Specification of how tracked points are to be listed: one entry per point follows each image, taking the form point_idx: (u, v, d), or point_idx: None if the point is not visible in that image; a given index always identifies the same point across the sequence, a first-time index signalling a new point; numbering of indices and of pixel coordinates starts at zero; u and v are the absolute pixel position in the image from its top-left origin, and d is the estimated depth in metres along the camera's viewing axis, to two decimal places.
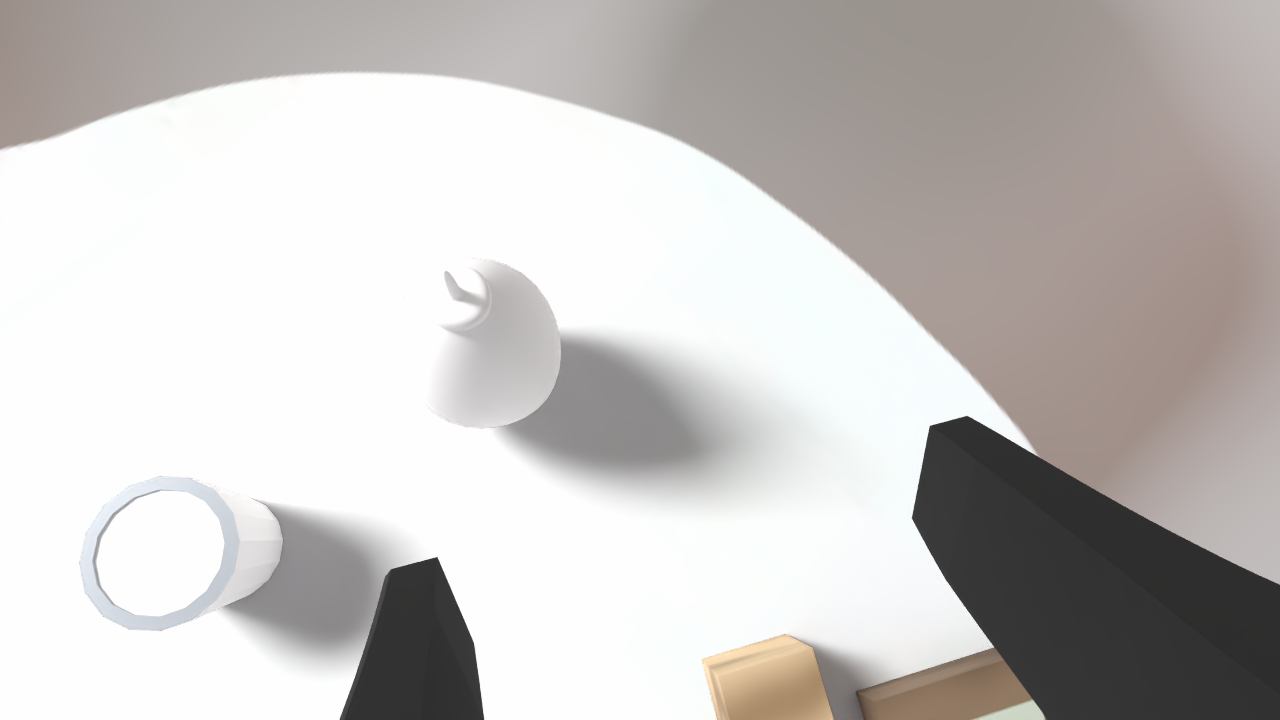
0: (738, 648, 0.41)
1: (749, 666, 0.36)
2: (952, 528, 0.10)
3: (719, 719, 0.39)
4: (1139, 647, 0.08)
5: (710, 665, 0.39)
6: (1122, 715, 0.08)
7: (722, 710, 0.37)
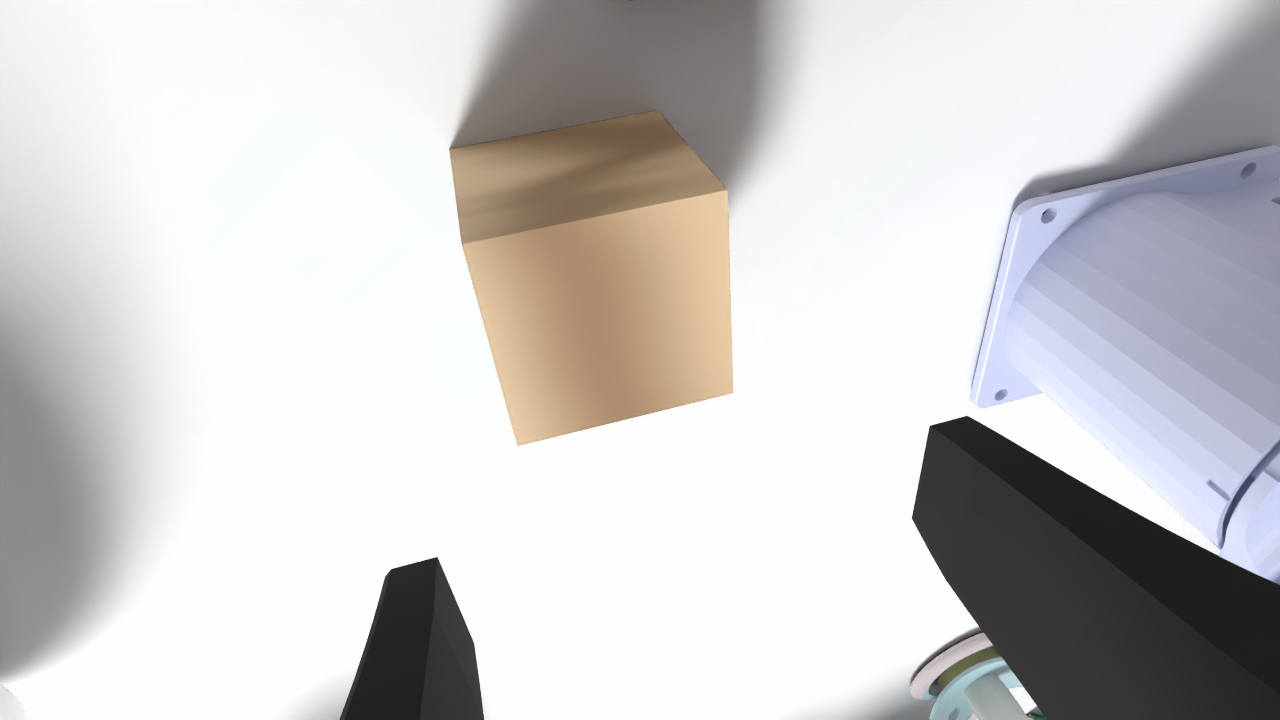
0: None
1: (501, 383, 0.15)
2: (952, 528, 0.10)
3: None
4: (1139, 647, 0.08)
5: None
6: (1122, 715, 0.08)
7: None
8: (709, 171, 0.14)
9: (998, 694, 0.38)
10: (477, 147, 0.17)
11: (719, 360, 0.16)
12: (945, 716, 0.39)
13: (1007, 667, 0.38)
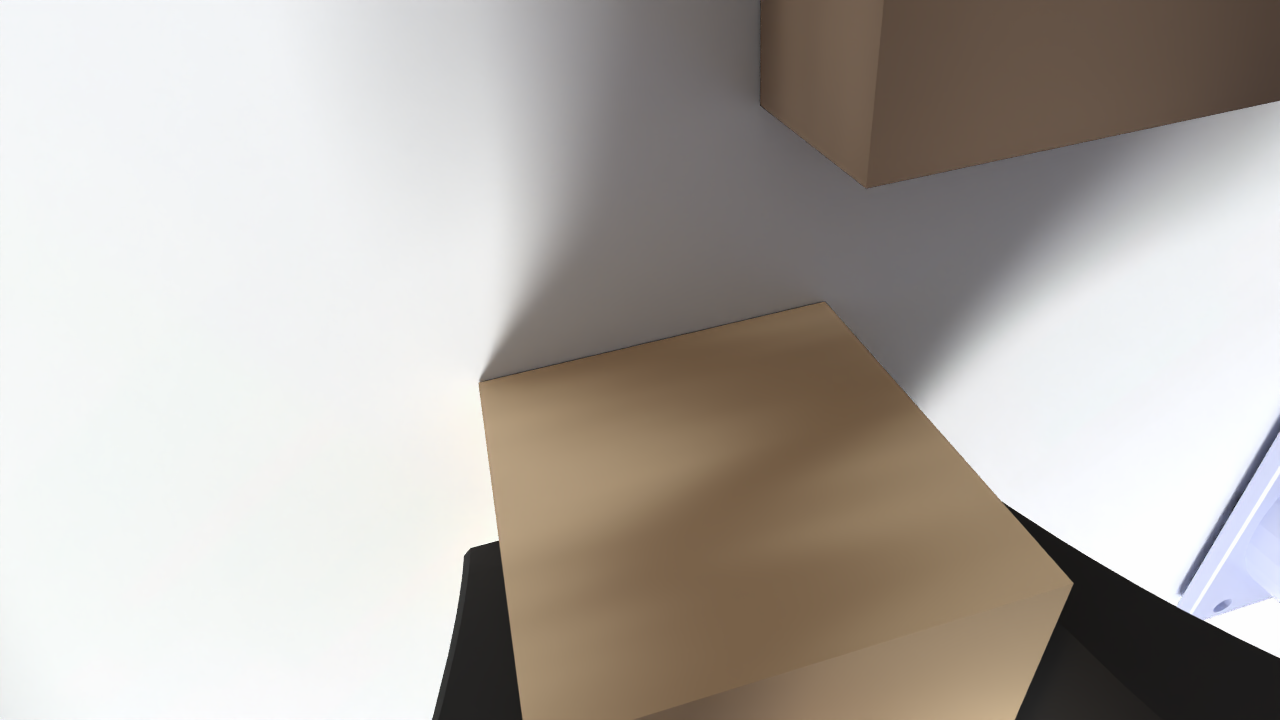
0: None
1: None
2: None
3: None
4: (1052, 676, 0.08)
5: None
6: None
7: None
8: (1002, 507, 0.07)
9: None
10: (529, 387, 0.10)
11: None
12: None
13: None
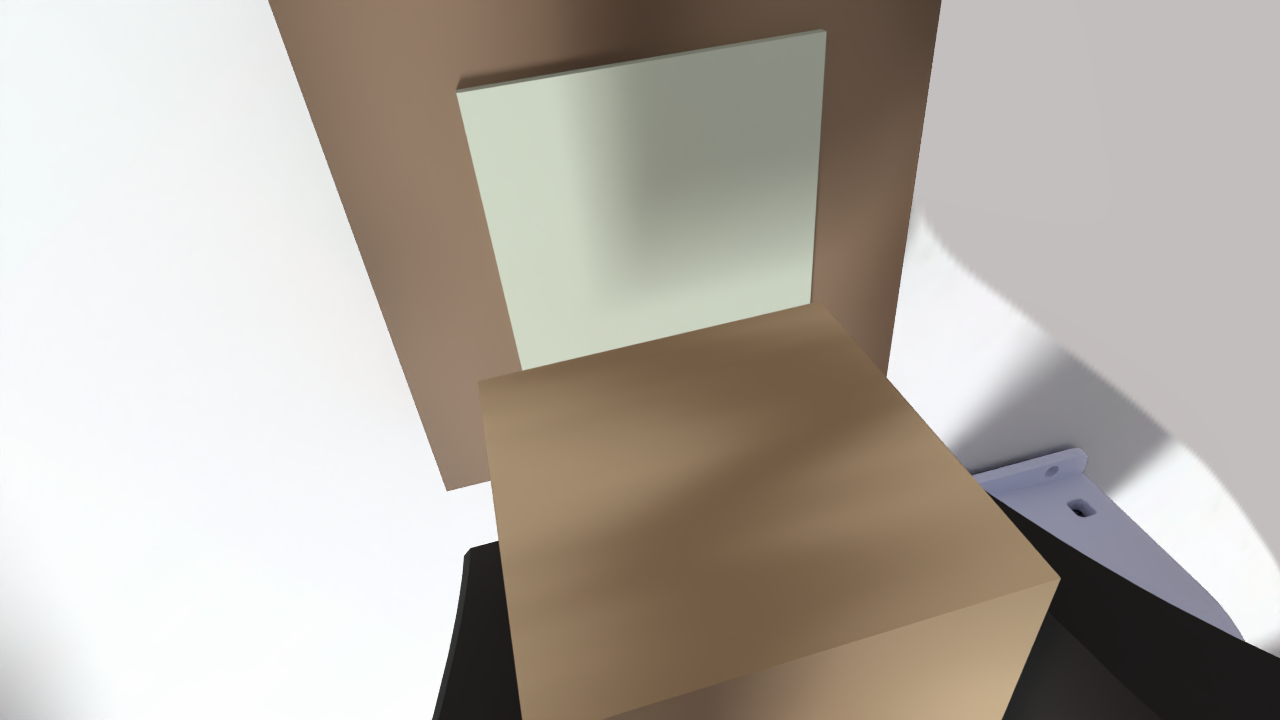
0: None
1: None
2: None
3: None
4: (1052, 676, 0.08)
5: None
6: None
7: None
8: (992, 504, 0.07)
9: None
10: (528, 385, 0.10)
11: None
12: None
13: None
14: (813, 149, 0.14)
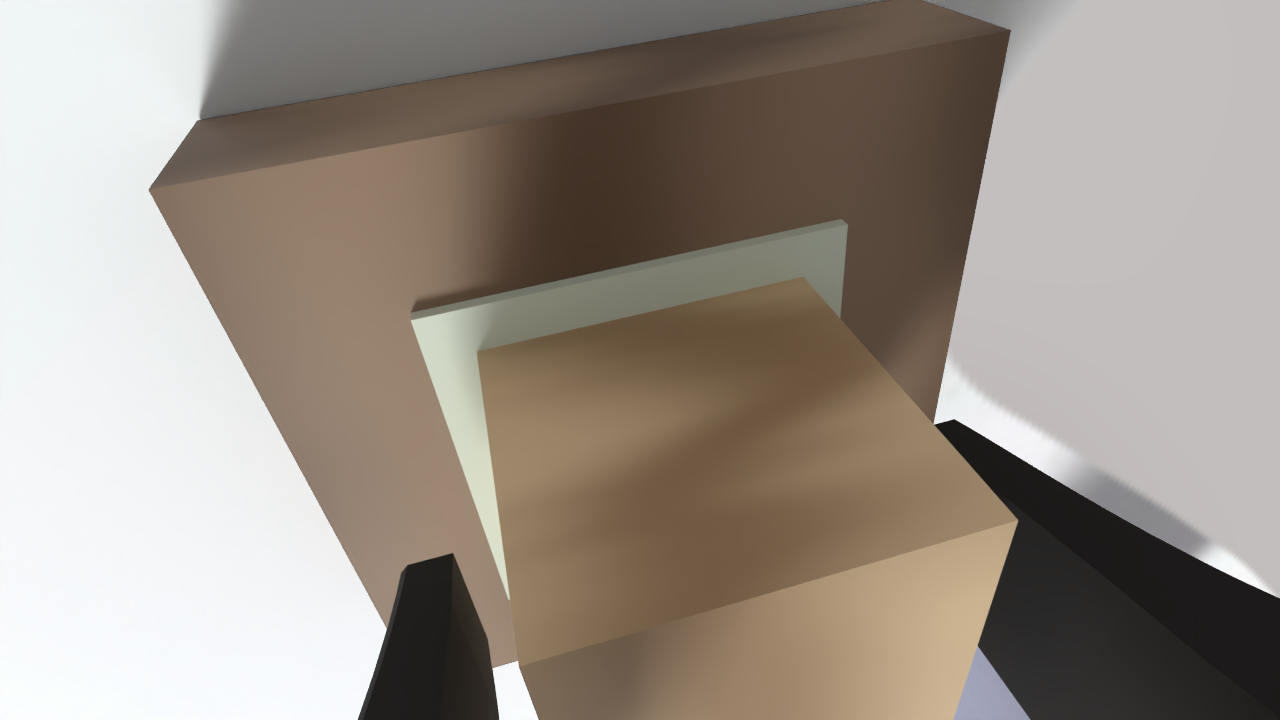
0: None
1: None
2: None
3: None
4: (1122, 653, 0.08)
5: None
6: None
7: None
8: (958, 456, 0.08)
9: None
10: (523, 355, 0.10)
11: None
12: None
13: None
14: None
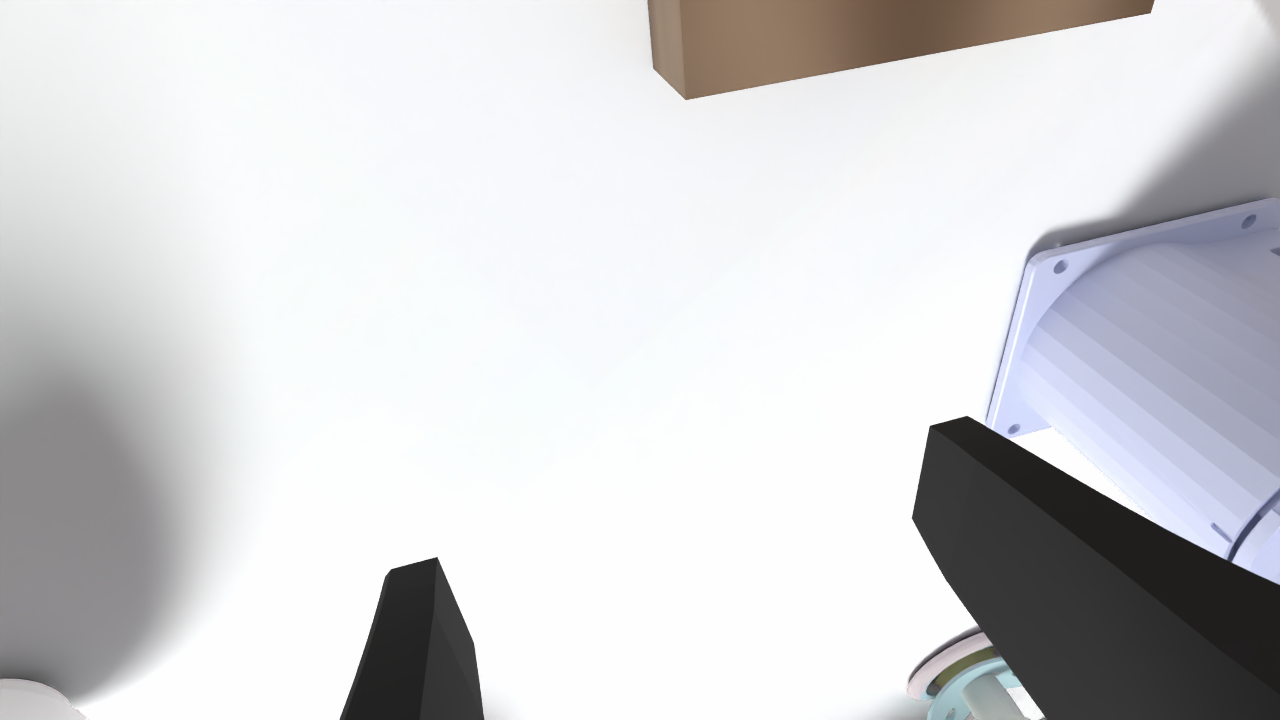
0: None
1: None
2: (952, 528, 0.10)
3: None
4: (1139, 647, 0.08)
5: None
6: (1122, 715, 0.08)
7: None
8: None
9: (995, 694, 0.38)
10: None
11: None
12: (942, 716, 0.39)
13: (1005, 667, 0.38)
14: None
